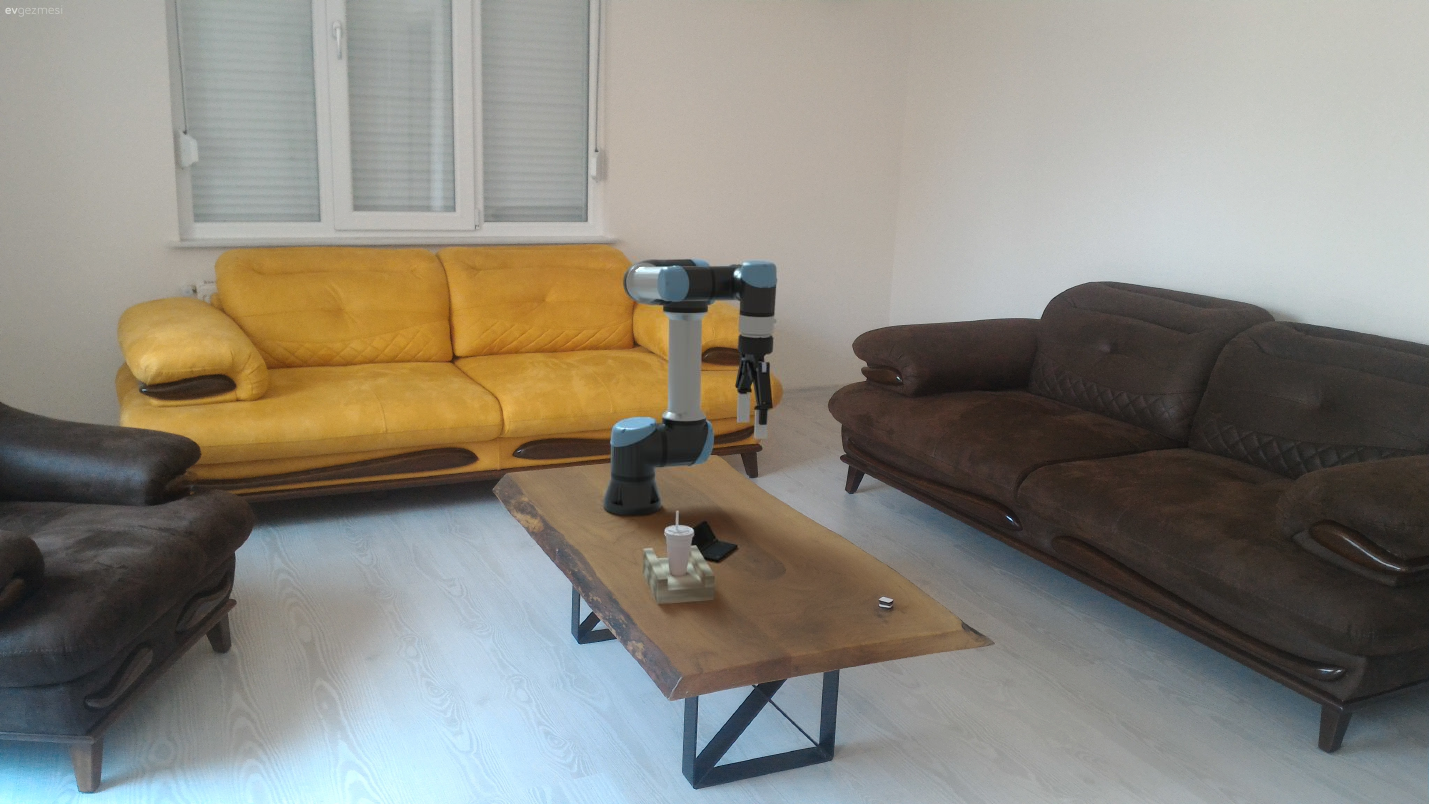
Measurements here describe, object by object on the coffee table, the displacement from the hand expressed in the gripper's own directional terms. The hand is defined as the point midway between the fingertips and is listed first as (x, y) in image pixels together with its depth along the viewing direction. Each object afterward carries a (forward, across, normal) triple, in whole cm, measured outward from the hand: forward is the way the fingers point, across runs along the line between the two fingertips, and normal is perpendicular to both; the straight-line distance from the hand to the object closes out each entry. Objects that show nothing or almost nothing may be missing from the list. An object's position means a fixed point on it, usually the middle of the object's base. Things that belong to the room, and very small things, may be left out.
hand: (751, 430), depth 223 cm
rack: (+33, -6, +17) cm, 37 cm away
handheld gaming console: (+33, +12, +5) cm, 36 cm away
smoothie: (+30, -6, +17) cm, 35 cm away
